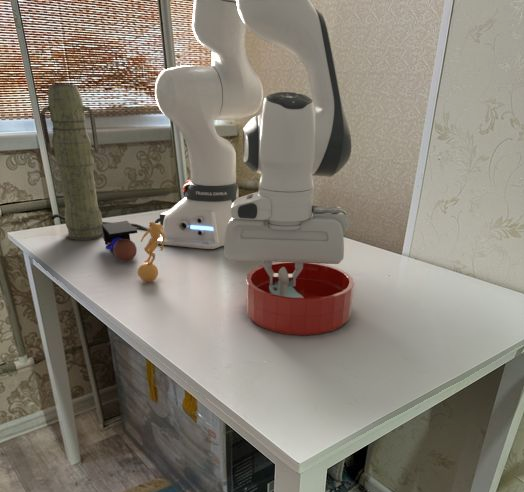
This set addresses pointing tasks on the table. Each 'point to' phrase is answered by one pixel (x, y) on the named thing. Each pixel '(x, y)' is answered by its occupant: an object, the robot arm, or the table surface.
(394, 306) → the table surface
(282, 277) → the pacifier
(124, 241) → the figurine character
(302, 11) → the robot arm
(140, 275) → the figurine
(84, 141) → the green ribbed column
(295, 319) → the bowl
